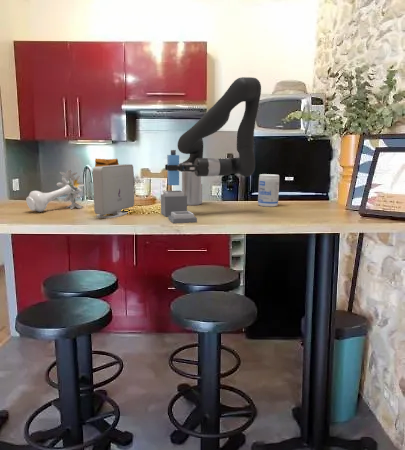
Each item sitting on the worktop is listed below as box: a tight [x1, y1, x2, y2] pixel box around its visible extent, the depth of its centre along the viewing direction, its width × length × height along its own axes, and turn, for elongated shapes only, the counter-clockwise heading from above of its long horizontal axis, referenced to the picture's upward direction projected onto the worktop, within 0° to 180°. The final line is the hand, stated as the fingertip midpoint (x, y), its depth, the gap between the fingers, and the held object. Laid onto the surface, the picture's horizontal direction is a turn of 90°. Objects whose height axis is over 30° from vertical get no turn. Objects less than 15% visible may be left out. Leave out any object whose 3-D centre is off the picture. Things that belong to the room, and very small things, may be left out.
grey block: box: [160, 190, 188, 218], centre depth 177 cm, size 9×9×10 cm
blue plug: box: [166, 149, 180, 186], centre depth 174 cm, size 4×4×14 cm
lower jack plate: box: [167, 210, 198, 224], centre depth 163 cm, size 9×9×3 cm
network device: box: [92, 163, 135, 219], centre depth 176 cm, size 26×9×20 cm, turn 161°
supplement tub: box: [257, 173, 280, 208], centre depth 204 cm, size 10×10×15 cm
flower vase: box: [25, 169, 85, 213], centre depth 189 cm, size 13×18×25 cm
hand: (166, 167), depth 173 cm, fingers closed on blue plug, 4 cm apart
